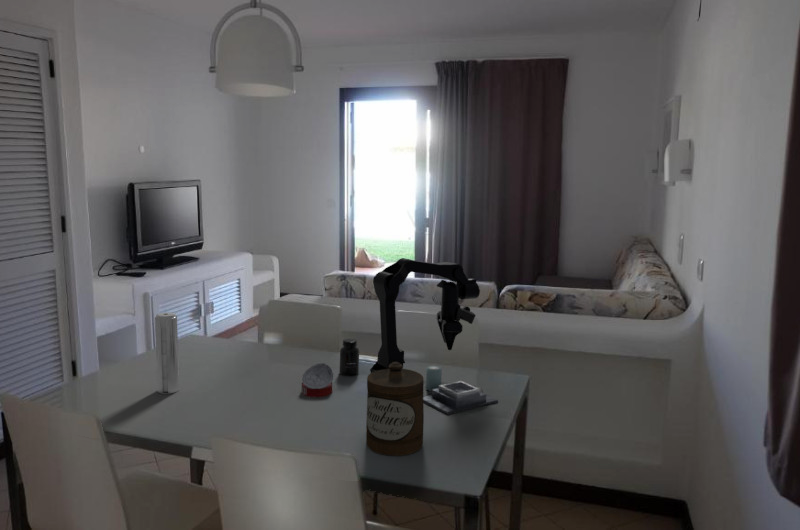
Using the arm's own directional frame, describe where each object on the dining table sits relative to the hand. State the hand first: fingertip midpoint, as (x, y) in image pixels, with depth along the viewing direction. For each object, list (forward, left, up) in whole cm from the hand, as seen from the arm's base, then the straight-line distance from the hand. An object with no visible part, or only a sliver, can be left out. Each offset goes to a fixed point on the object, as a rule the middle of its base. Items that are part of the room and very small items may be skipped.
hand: (447, 346), depth 204 cm
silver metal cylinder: (-81, +41, -13) cm, 91 cm away
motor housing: (-7, -14, -13) cm, 21 cm away
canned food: (-41, +16, -14) cm, 46 cm away
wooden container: (-41, -29, -13) cm, 52 cm away
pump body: (-7, -1, -13) cm, 15 cm away
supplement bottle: (-23, +27, -13) cm, 37 cm away
